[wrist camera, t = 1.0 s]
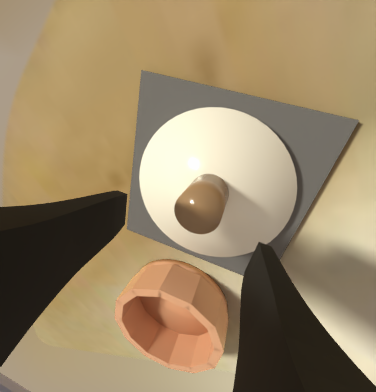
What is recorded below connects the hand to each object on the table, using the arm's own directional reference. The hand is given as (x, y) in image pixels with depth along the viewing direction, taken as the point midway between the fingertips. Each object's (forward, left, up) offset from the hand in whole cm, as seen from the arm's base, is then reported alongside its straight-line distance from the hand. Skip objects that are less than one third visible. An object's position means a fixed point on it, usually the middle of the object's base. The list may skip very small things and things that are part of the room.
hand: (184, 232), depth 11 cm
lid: (0, 0, -6) cm, 6 cm away
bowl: (0, +14, -7) cm, 16 cm away
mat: (0, 0, -7) cm, 7 cm away
